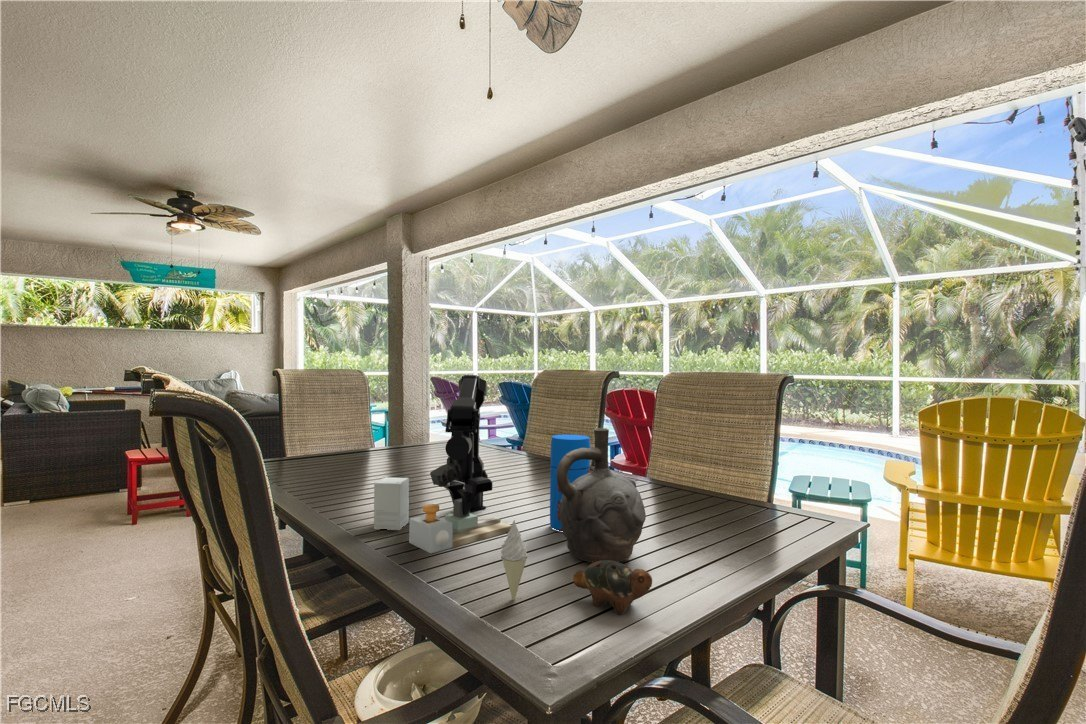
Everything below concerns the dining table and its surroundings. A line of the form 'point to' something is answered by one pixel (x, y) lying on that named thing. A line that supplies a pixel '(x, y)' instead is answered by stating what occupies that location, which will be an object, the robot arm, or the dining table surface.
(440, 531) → the gauge cabinet
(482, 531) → the rail board
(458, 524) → the carriage
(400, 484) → the supplement box
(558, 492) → the thermos
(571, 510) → the vessel
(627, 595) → the decorative turtle
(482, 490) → the robot arm
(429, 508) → the button
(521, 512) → the dining table surface
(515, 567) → the ice cream cone
